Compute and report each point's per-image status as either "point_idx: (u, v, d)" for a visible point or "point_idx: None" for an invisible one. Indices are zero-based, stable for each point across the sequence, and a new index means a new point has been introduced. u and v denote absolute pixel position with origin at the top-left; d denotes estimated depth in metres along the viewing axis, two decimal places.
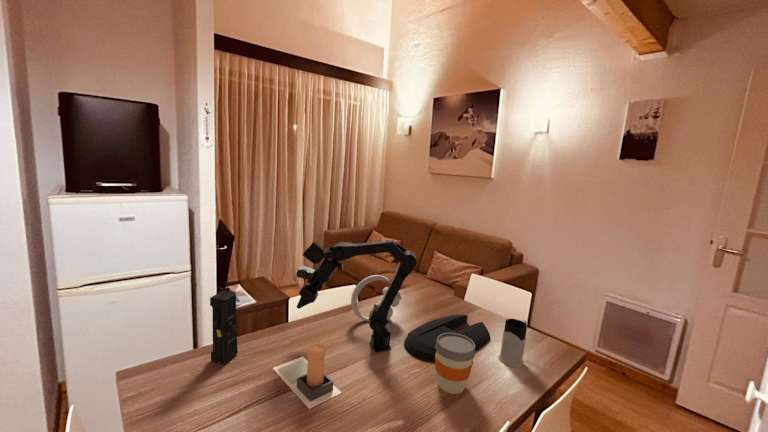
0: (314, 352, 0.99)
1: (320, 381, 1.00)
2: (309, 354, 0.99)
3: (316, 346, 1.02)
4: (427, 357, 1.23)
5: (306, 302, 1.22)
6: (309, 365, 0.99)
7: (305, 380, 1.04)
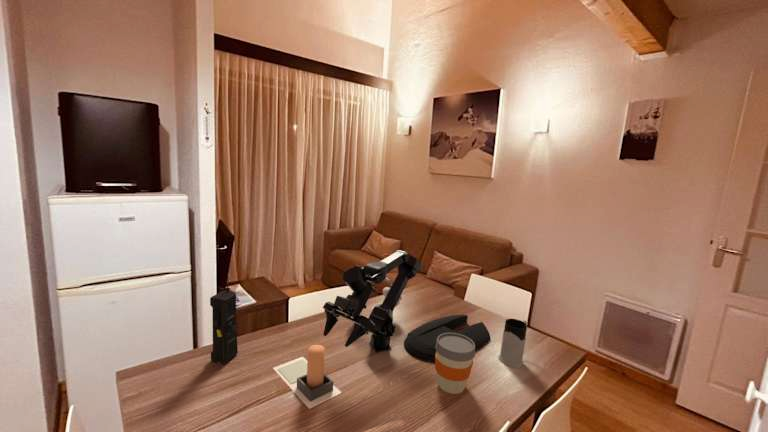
0: (314, 352, 0.99)
1: (320, 381, 1.00)
2: (309, 354, 0.99)
3: (316, 346, 1.02)
4: (426, 357, 1.23)
5: (358, 336, 1.06)
6: (309, 365, 0.99)
7: (305, 380, 1.04)
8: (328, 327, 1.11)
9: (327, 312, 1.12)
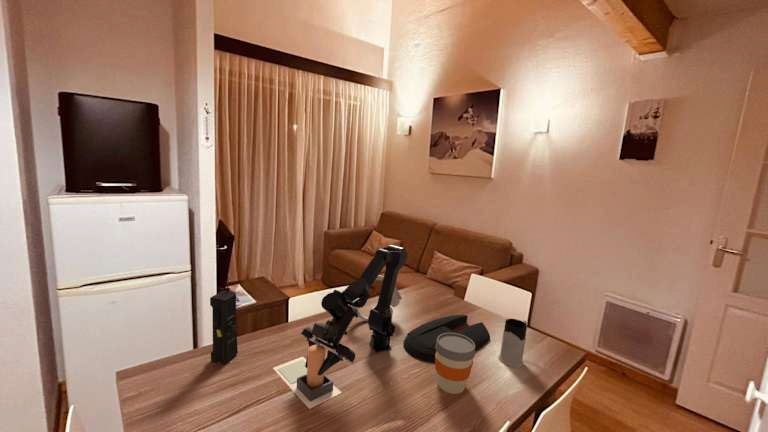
0: (314, 352, 0.99)
1: (320, 381, 1.00)
2: (309, 354, 0.99)
3: (316, 346, 1.02)
4: (426, 357, 1.23)
5: (332, 363, 1.01)
6: (309, 365, 0.99)
7: (305, 380, 1.04)
8: None
9: (309, 341, 1.04)
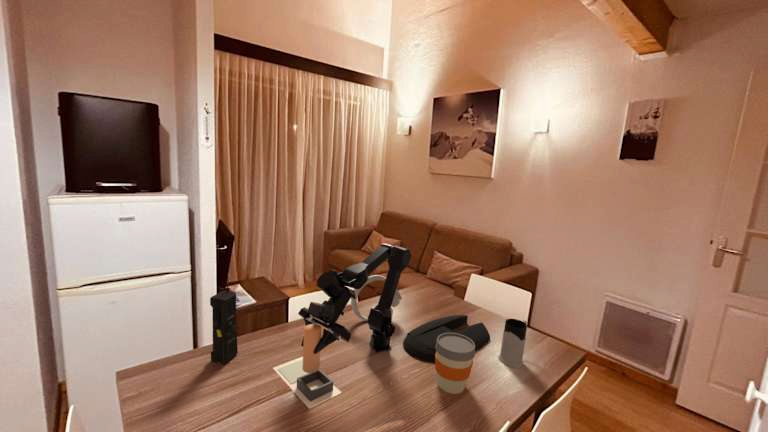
0: (310, 330, 0.99)
1: (316, 360, 1.01)
2: (305, 332, 0.99)
3: (312, 325, 1.02)
4: (425, 357, 1.23)
5: (328, 342, 1.01)
6: (305, 344, 1.00)
7: (305, 380, 1.04)
8: None
9: (306, 321, 1.04)
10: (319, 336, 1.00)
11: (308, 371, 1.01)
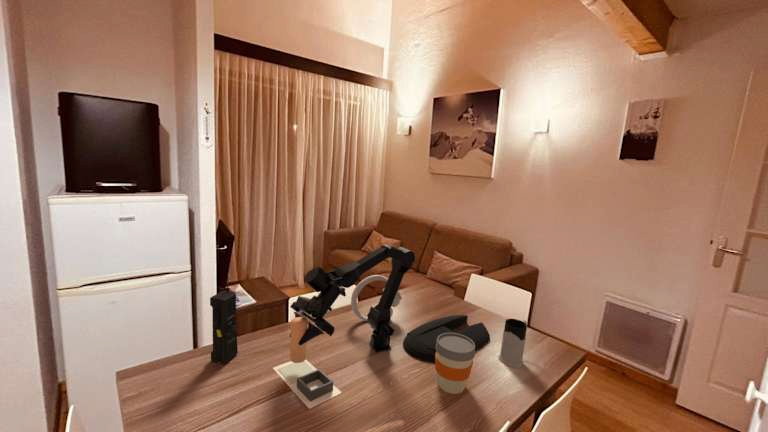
0: (296, 323, 1.06)
1: (301, 351, 1.07)
2: (291, 324, 1.06)
3: (300, 318, 1.09)
4: (425, 357, 1.23)
5: (313, 335, 1.07)
6: (291, 335, 1.06)
7: (305, 380, 1.04)
8: None
9: (295, 314, 1.11)
10: (304, 329, 1.06)
11: (294, 361, 1.07)
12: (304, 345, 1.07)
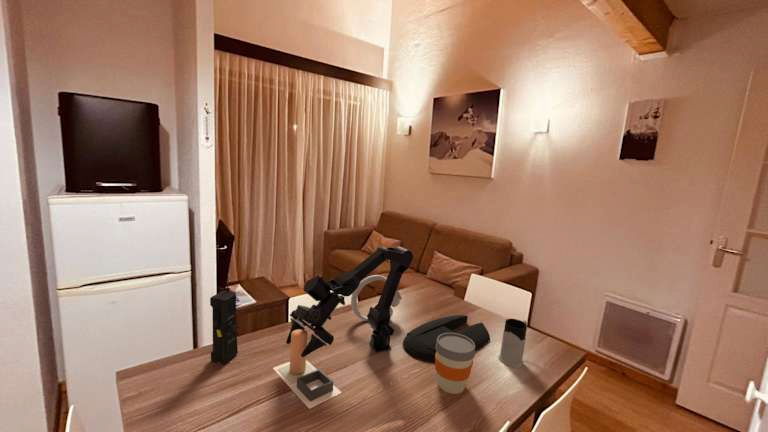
0: (296, 335, 1.07)
1: (301, 363, 1.08)
2: (291, 336, 1.07)
3: (300, 330, 1.10)
4: (425, 357, 1.23)
5: (316, 347, 1.06)
6: (291, 347, 1.07)
7: (305, 380, 1.04)
8: None
9: (292, 320, 1.13)
10: (304, 341, 1.07)
11: (293, 373, 1.08)
12: (304, 357, 1.08)
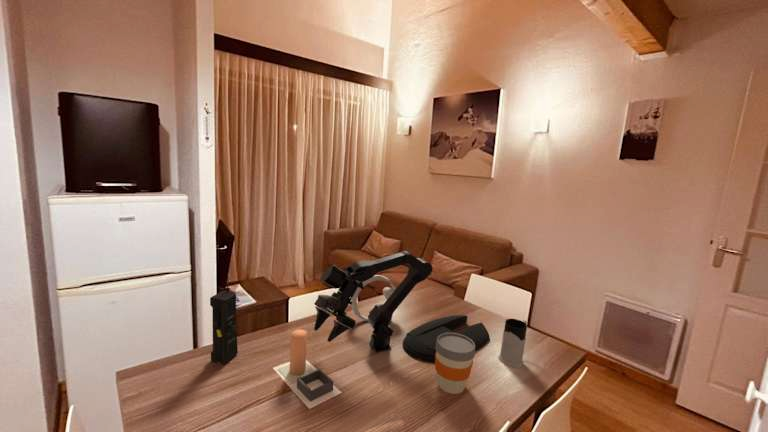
0: (296, 335, 1.06)
1: (301, 363, 1.08)
2: (291, 337, 1.07)
3: (300, 331, 1.10)
4: (425, 358, 1.23)
5: (340, 331, 1.13)
6: (291, 347, 1.07)
7: (305, 380, 1.04)
8: (319, 322, 1.20)
9: (317, 309, 1.21)
10: (304, 341, 1.07)
11: (293, 373, 1.08)
12: (304, 358, 1.08)
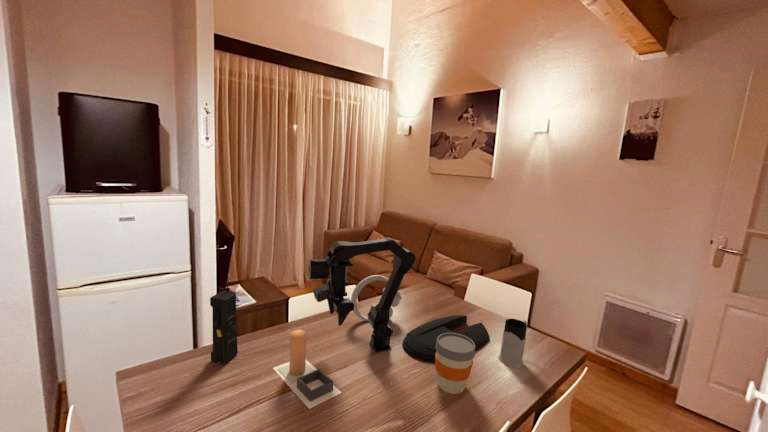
0: (295, 336, 1.06)
1: (300, 363, 1.08)
2: (290, 337, 1.07)
3: (299, 331, 1.09)
4: (425, 358, 1.23)
5: (345, 314, 1.16)
6: (291, 348, 1.07)
7: (305, 380, 1.04)
8: (331, 306, 1.25)
9: None
10: (303, 341, 1.07)
11: (293, 373, 1.08)
12: (303, 358, 1.08)
